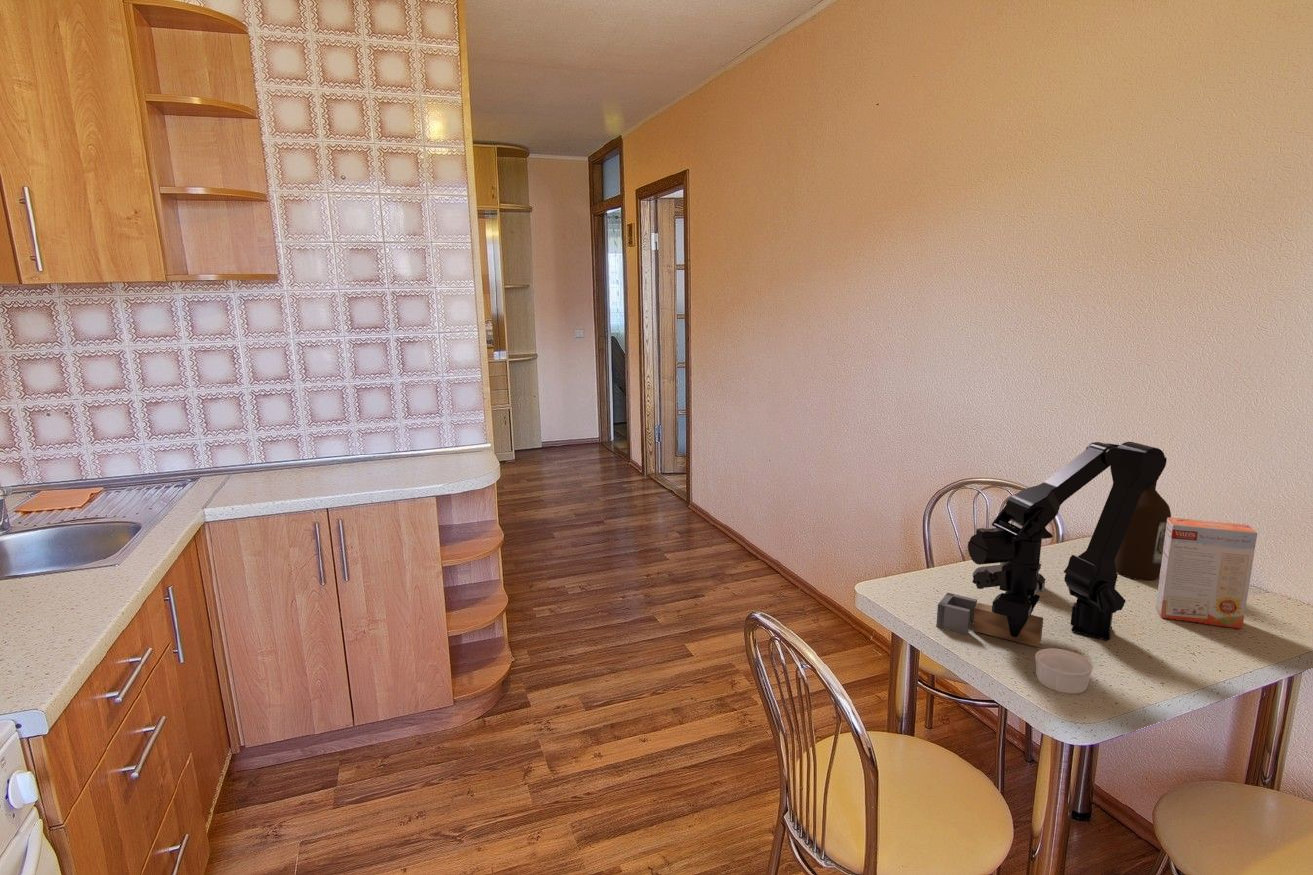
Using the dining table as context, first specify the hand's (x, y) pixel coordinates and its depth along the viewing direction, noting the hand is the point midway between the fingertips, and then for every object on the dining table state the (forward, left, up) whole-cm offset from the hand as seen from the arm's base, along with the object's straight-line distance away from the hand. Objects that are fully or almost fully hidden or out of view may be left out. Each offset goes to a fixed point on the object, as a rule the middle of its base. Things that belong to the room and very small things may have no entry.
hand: (1015, 633), depth 140 cm
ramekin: (-10, +12, -2) cm, 16 cm away
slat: (+2, 0, -1) cm, 2 cm away
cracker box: (-29, -32, -2) cm, 43 cm away
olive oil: (-17, -53, -2) cm, 56 cm away
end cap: (+11, 0, -1) cm, 11 cm away
